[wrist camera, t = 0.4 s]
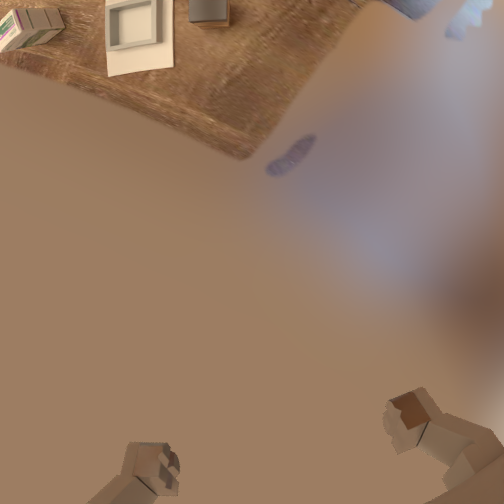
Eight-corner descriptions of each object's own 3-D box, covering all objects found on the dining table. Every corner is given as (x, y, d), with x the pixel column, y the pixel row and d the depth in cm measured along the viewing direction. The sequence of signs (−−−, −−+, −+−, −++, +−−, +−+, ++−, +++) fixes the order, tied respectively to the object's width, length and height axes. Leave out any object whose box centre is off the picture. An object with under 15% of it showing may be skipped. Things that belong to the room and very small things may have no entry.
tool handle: (201, 28, 37) (188, 21, 26) (202, 5, 34) (189, -10, 23) (229, 27, 37) (226, 19, 26) (229, 4, 34) (226, -12, 23)
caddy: (110, 76, 40) (98, 79, 36) (108, -11, 29) (96, -15, 25) (174, 66, 41) (167, 68, 37) (174, -25, 29) (168, -31, 25)
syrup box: (58, 7, 28) (11, 6, 17) (66, 28, 32) (20, 32, 21) (37, 24, 29) (-11, 30, 18) (45, 45, 33) (-3, 55, 22)
